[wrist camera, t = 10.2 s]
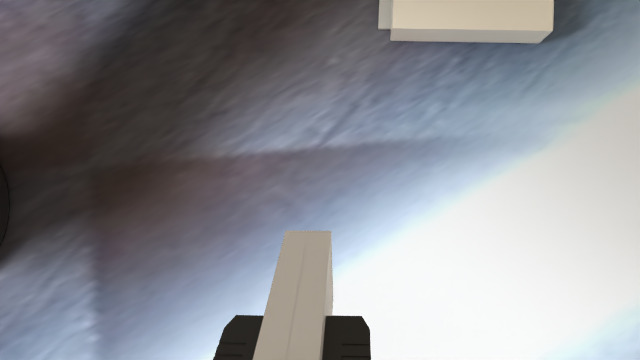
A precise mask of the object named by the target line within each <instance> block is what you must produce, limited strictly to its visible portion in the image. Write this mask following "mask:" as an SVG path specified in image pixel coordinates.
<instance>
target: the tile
mask: <svg viewBox="0 0 640 360" xmlns="http://www.w3.org/2000/svg"><path fill="white" fill-rule="evenodd" d="M553 13H554V0H392V10H391V35H390V41H435V42H492V43H540V42H541V41H542V40H543V39H544V38H545V37H547V36H548V35H549V34H550V33H551V32H552V31H553Z"/></svg>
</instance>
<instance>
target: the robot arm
mask: <svg viewBox="0 0 640 360" xmlns="http://www.w3.org/2000/svg"><path fill="white" fill-rule="evenodd" d="M8 216H9V194H8V188H7V184H6V180H5V177H4V174H3V172H2V169H1V167H0V244H1V242H2V239H3V237H4V234H5V231H6V227H7V223H8ZM332 308H333V276H332V243H331V231H286V232H285V236H284V239H283V243H282V247H281V251H280V255H279V259H278V263H277V267H276V271H275V275H274V278H273V282H272V286H271V290H270V294H269V298H268V302H267V306H266V310H265V313H264V316H250V315H236V316H235V317H234V318H233V319H232V320H231V321H230V322H229V323H228V324H227V325H226V327H225V328H224V330H223V333H222V336H221V339H220V342H219V345H218V347H217V350H216V353H215V357H214V358H213V360H371V352H370V329H369V327H368V326H367V324H366V322H365V321H364V319H363V318H362V316H332Z"/></svg>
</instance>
